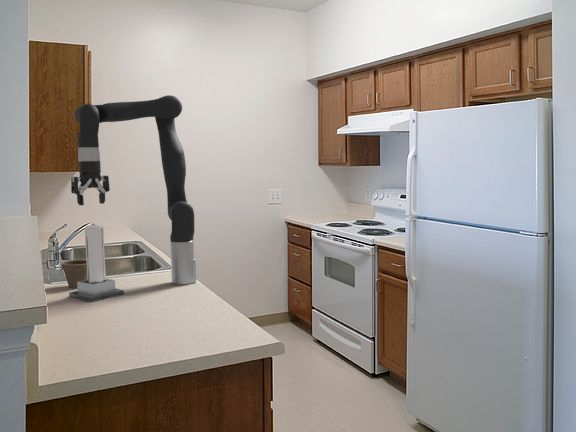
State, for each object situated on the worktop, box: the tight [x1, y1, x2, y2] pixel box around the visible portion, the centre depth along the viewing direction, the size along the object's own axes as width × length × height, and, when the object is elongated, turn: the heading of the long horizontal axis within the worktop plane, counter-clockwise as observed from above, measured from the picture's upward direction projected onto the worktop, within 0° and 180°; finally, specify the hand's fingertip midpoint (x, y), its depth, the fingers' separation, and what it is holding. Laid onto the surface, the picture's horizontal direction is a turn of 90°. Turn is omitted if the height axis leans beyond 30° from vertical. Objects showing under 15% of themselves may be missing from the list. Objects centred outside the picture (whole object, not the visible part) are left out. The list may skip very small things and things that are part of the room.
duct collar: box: [68, 277, 125, 303], centre depth 201 cm, size 14×14×6 cm
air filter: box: [84, 224, 107, 284], centre depth 200 cm, size 6×6×25 cm
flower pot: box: [61, 259, 87, 289], centre depth 216 cm, size 12×11×10 cm
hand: (91, 204), depth 198 cm, fingers open, 8 cm apart
